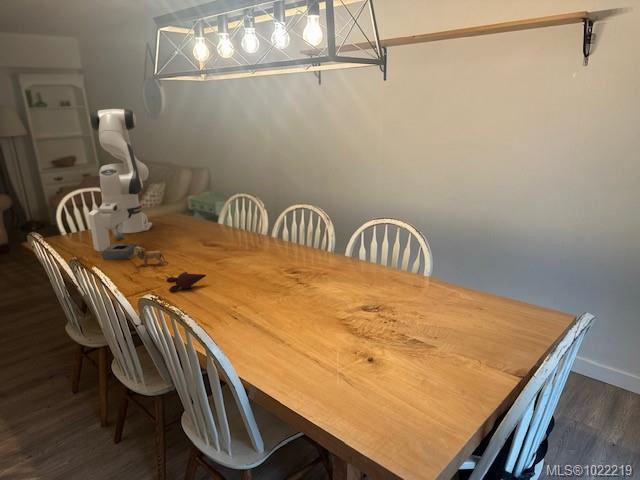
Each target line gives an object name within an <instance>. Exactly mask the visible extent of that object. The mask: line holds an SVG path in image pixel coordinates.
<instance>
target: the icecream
mask: <svg viewBox="0 0 640 480" xmlns="http://www.w3.org/2000/svg"><path fill="white" fill-rule="evenodd" d="M205 277H207V274H202V273H188V272H187V271H184V272H181V273H180V274H179V275H178V276H177V277H173V276H170V277H167V278H166V282H167V283H169V284H174V283H175V284H174V285H172V286H171V287H170V288H169V289H168V290H169V292H170V293H172V292H174V293H175V292H176V291H177V290H179V289H180V288H181V289H183V290H187V289H192V286H193V285H195V284H196V283H198V282H200V280H203V278H205Z"/></svg>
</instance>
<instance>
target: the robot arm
mask: <svg viewBox="0 0 640 480" xmlns="http://www.w3.org/2000/svg"><path fill="white" fill-rule="evenodd" d="M88 119H89V124H90V126H91V128H92V129H93V130H95V131H97V132H98V139H99V144H100V146H101V148H102V149H103V150H104V151H105V152H108V153H109V154H110V155H111V156H112V157H114V158H116V159H118V160H120V161H122V163H121V162H119V163H109V164H106V165H102V166H101V167H100V169H99V171H98V173H99V175H98V176H99V190H100V192H101V193H102V202H101V205H100V206H99V207H98V209H99V212H102V213H101V221H102V226H103V228H104V229H108V230H111V232H112V235H113V236H114V235H117V234H118V231H117V230H116V226H117V225H118V224H120V223H121V225H122V232H123V234H135V233H140V232H145V231H149V230H150V228H151V227H152V226H153V222H149V220H148V216H147V214H145V213H144V212H142V209H143V205H142V204H140V203H139V202H140V201H139V196H138V195H139V193H141V192H142V191H143V190H144V189H143V187H144V183H143V181H147V179H148V177H149V175H150V174H149V173H150V172H149V168H148V166H147V165H146V164H145V163H143V162H142V161H140V160H139V159H138V158H137V157H136V156H135V154H134V151H133V148H132V145H131V144H132V143H131V139H130V135H129V131H131V130H133V129H134V128H135V127H136V124H137V118H136V115H135V113H134V111H133V110H131V109H126V108H124V109H121V108H110V109H109V108H107V109H100V110H99V109H95V110H92V111H91V112H90V113H89V118H88Z"/></svg>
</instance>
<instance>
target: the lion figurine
mask: <svg viewBox="0 0 640 480" xmlns="http://www.w3.org/2000/svg"><path fill="white" fill-rule="evenodd" d="M134 255H135V256H134V257H136V258H139V260H143V263H144V264H143V267H147V266H148V260H153V259H156V260H157V261H158V262H157V265H158V264H159V265H161V267H163V266H165V264H169V263H170V262H169V261H166V259H165V257H164V255H163V253H162V252H161V251H160V250H151V251H150V250H148V249H147V248H145V247H141V246H138V247H135V248H134Z"/></svg>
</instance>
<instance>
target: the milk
mask: <svg viewBox="0 0 640 480" xmlns="http://www.w3.org/2000/svg"><path fill="white" fill-rule="evenodd" d="M92 208H93V209H92V210H91V211H90V212H88V214H87V215H88V220H89V227H90V231H91V238H92V244H93V250H94V251H96V252H98V253H102V251H103V250H105V249H107V248H108V247H110V246H111V241H110V236H109V235H110V234H109V229H104V228H103V226H102V221H101V213H102V212H99V207H96V206H93V207H92Z"/></svg>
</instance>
